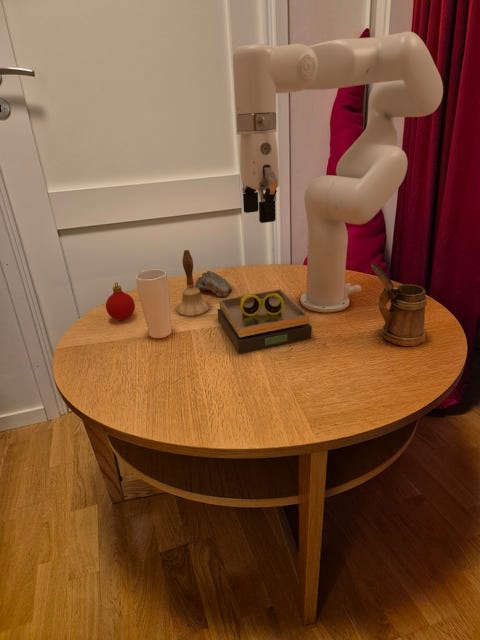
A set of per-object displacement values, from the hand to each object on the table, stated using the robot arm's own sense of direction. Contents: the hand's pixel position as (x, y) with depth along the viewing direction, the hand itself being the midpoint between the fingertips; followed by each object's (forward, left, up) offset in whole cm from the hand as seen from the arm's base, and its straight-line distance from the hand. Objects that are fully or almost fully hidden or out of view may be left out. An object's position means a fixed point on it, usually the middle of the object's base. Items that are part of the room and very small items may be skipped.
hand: (258, 216), depth 84 cm
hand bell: (+13, -17, -26) cm, 34 cm away
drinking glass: (+23, -7, -26) cm, 36 cm away
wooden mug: (-25, +15, -26) cm, 39 cm away
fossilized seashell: (+5, -27, -26) cm, 38 cm away
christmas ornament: (+31, -19, -26) cm, 45 cm away
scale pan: (0, 0, -23) cm, 23 cm away
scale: (0, 0, -26) cm, 26 cm away
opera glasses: (0, 0, -22) cm, 22 cm away
